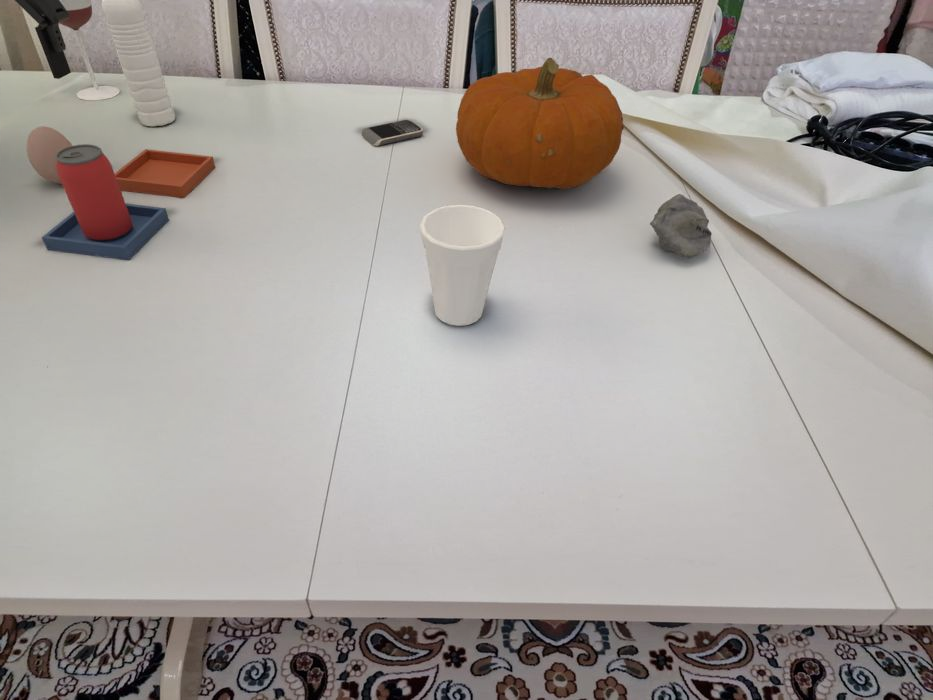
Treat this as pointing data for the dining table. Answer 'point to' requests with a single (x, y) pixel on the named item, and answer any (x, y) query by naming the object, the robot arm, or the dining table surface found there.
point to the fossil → (682, 227)
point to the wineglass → (80, 14)
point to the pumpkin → (539, 127)
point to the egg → (46, 151)
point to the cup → (461, 259)
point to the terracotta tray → (164, 173)
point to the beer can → (93, 192)
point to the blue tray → (143, 228)
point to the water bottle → (139, 61)
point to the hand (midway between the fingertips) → (18, 70)
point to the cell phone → (392, 132)
